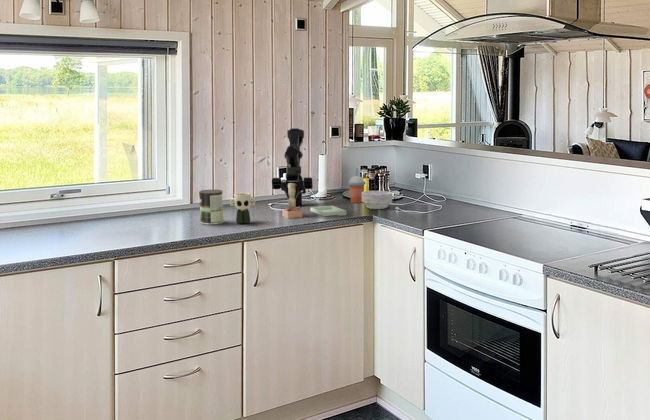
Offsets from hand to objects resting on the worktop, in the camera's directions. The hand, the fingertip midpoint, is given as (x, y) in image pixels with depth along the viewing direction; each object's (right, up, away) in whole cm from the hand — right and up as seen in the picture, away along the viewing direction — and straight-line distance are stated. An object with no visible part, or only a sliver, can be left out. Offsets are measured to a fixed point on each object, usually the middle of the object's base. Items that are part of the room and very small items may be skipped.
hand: (291, 198), depth 287 cm
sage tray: (+17, -7, +13) cm, 22 cm away
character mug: (-21, -11, -8) cm, 25 cm away
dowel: (0, -6, +3) cm, 7 cm away
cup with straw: (+32, -1, +44) cm, 54 cm away
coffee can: (-35, -11, -6) cm, 37 cm away
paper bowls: (+41, -5, +27) cm, 49 cm away
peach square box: (0, -9, +3) cm, 9 cm away
